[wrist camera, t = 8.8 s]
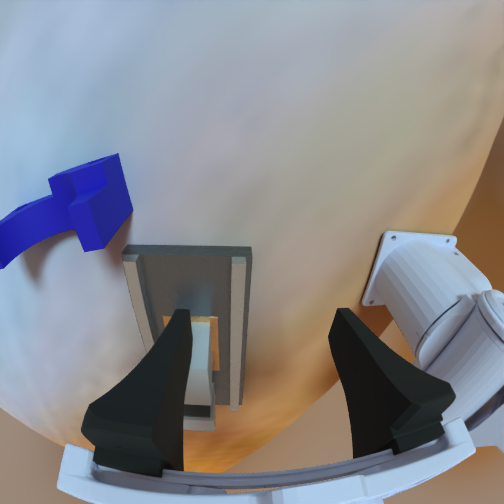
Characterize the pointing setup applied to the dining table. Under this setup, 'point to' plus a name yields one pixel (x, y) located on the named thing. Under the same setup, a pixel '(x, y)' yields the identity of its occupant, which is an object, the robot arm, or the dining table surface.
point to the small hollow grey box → (200, 415)
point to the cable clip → (71, 209)
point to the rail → (196, 301)
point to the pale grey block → (200, 366)
